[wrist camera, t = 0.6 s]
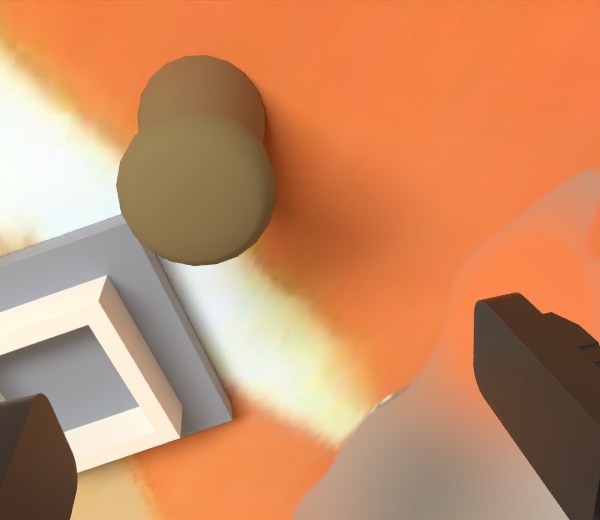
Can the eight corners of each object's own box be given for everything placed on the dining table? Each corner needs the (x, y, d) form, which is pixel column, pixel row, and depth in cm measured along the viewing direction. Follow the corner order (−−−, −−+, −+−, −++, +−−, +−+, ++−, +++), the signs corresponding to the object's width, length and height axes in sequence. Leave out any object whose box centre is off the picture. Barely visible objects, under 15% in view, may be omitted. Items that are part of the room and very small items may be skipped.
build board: (133, 210, 28) (121, 244, 25) (231, 403, 35) (233, 452, 31) (-123, 299, 29) (-170, 346, 25) (23, 473, 35) (2, 529, 32)
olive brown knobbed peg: (236, 198, 29) (248, 316, 19) (120, 153, 27) (68, 258, 17) (286, 89, 26) (328, 160, 17) (163, 31, 25) (131, 72, 15)
